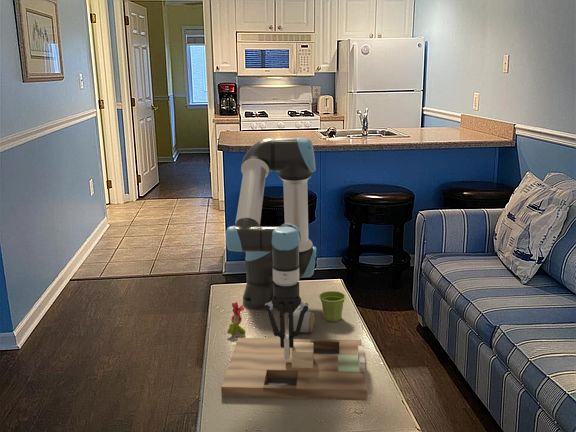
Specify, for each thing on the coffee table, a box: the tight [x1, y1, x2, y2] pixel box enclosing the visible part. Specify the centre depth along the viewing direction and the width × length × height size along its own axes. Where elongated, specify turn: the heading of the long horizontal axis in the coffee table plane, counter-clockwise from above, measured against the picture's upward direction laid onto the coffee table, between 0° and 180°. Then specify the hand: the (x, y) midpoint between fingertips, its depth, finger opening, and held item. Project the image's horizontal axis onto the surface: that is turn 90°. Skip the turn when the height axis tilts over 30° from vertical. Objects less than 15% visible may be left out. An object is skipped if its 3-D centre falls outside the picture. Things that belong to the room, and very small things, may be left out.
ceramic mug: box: [287, 308, 315, 334], centre depth 191 cm, size 11×8×8 cm
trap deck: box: [220, 337, 368, 401], centre depth 164 cm, size 29×40×6 cm
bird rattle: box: [226, 301, 246, 336], centre depth 190 cm, size 6×11×9 cm
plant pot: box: [318, 290, 347, 322], centre depth 199 cm, size 9×9×9 cm
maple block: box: [292, 342, 314, 368], centre depth 163 cm, size 6×6×5 cm
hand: (287, 356), depth 164 cm, fingers closed
